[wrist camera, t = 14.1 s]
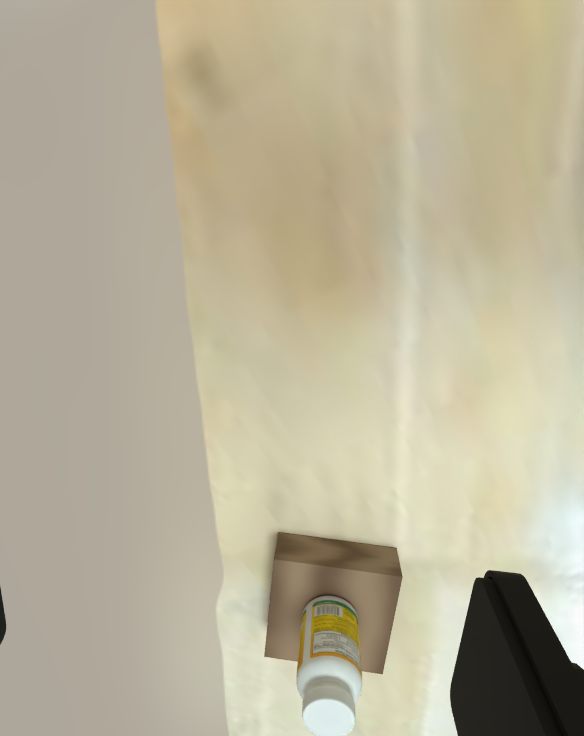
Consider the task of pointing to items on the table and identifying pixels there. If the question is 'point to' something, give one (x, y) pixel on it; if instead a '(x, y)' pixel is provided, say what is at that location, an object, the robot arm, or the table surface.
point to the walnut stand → (333, 592)
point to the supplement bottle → (329, 666)
